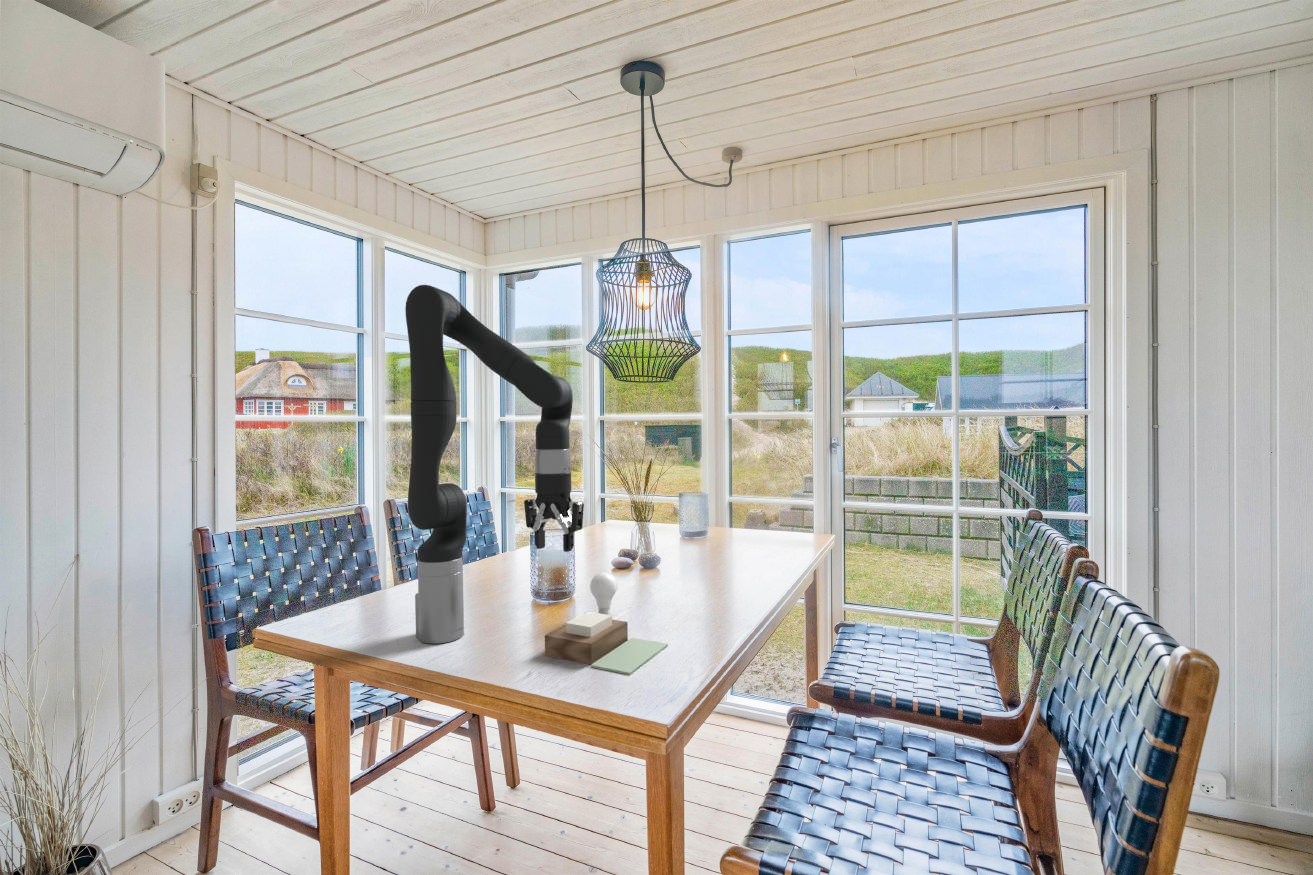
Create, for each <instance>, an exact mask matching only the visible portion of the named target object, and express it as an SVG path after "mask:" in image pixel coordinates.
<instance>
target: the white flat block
mask: <svg viewBox="0 0 1313 875" xmlns="http://www.w3.org/2000/svg"><path fill="white" fill-rule="evenodd" d="M612 620H613V615H612V614H610V615H606V614H600V613H599V612H598V613H597V612H591V611H586V612H584V613H582V614H581V615H578V616H577V617H574V618H573V619H571V620H569V621H566V622H565V625H566V633H570V634H576V635H581V636H587V637H592V636H594V635H596V634H597V633H599V632H601V631H603V630H604V629H606V628H608V627H609V626H611V625H612Z"/></svg>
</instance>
